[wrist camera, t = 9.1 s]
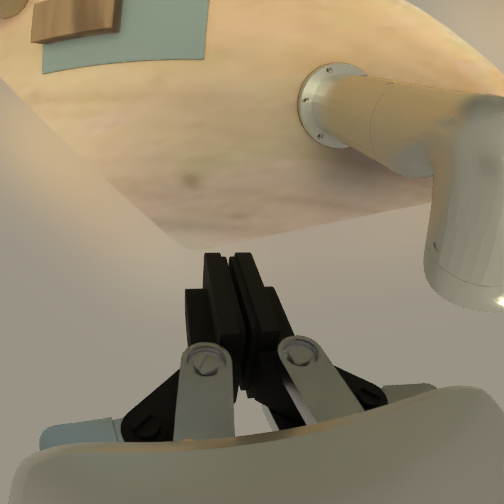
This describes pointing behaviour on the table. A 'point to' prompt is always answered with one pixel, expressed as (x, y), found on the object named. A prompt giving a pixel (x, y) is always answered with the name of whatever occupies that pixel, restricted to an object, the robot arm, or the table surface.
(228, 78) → the table surface
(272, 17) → the table surface
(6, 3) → the candle
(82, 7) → the block
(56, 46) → the mat
